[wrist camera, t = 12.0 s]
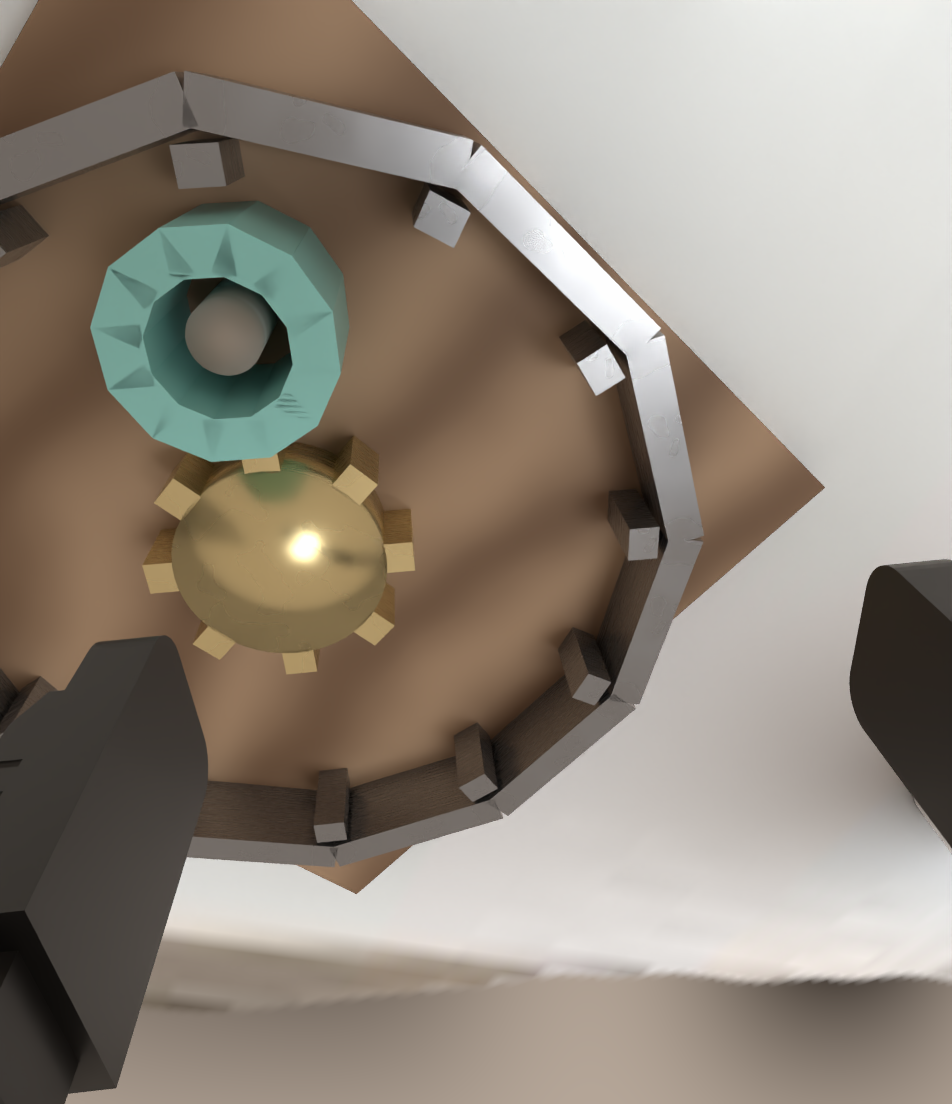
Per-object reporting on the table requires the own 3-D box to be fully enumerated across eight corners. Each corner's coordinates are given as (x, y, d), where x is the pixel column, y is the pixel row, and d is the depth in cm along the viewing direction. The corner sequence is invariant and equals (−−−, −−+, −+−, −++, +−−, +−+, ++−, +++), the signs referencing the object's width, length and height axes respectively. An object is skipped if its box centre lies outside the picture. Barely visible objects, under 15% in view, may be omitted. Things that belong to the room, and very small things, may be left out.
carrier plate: (806, 471, 31) (881, 538, 26) (357, 868, 40) (352, 972, 35) (168, -185, 20) (99, -272, 15) (-258, 559, 29) (-386, 650, 24)
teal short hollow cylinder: (377, 261, 25) (375, 296, 20) (304, 429, 27) (287, 492, 23) (183, 162, 23) (134, 177, 18) (123, 351, 25) (67, 403, 21)
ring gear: (813, 488, 30) (854, 525, 27) (355, 888, 38) (352, 945, 36) (157, -180, 19) (120, -224, 17) (-276, 580, 28) (-345, 630, 25)
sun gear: (462, 518, 29) (467, 551, 27) (315, 670, 32) (309, 712, 30) (258, 361, 26) (245, 386, 24) (112, 547, 28) (89, 584, 26)
